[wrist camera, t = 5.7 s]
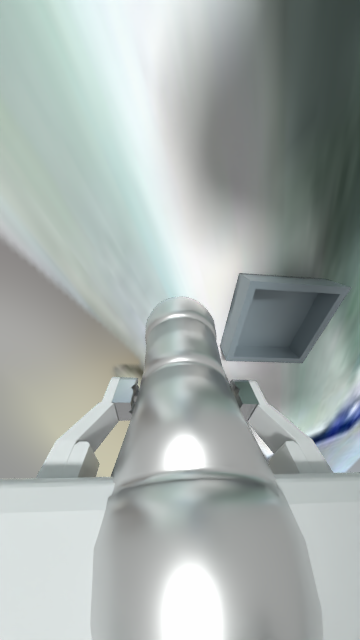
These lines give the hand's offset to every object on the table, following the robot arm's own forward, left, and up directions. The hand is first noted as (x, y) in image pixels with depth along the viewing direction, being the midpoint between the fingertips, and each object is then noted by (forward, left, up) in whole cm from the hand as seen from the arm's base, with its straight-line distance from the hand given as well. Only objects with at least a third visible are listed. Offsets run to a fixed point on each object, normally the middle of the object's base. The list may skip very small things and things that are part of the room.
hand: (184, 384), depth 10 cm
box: (+3, +16, -17) cm, 23 cm away
